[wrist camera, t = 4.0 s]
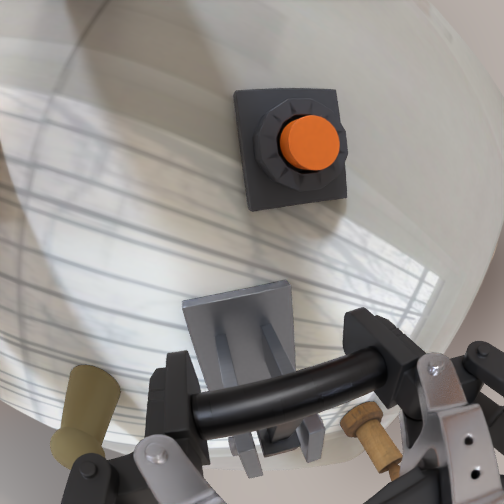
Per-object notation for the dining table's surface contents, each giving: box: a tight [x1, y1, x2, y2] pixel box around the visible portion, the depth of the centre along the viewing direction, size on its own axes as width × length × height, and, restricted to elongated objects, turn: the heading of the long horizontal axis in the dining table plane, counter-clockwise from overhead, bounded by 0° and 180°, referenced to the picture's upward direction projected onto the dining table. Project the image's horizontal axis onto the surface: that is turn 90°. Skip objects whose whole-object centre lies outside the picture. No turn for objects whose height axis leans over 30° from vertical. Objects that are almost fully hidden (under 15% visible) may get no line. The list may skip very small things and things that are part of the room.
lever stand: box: [182, 280, 325, 478], centre depth 19 cm, size 11×9×13 cm
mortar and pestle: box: [340, 402, 403, 481], centre depth 26 cm, size 7×6×18 cm
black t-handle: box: [191, 346, 388, 457], centre depth 11 cm, size 12×6×2 cm, turn 7°
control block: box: [233, 88, 348, 212], centre depth 18 cm, size 9×8×3 cm
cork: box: [50, 365, 121, 470], centre depth 18 cm, size 6×6×11 cm
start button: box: [280, 115, 340, 170], centre depth 17 cm, size 4×4×2 cm
